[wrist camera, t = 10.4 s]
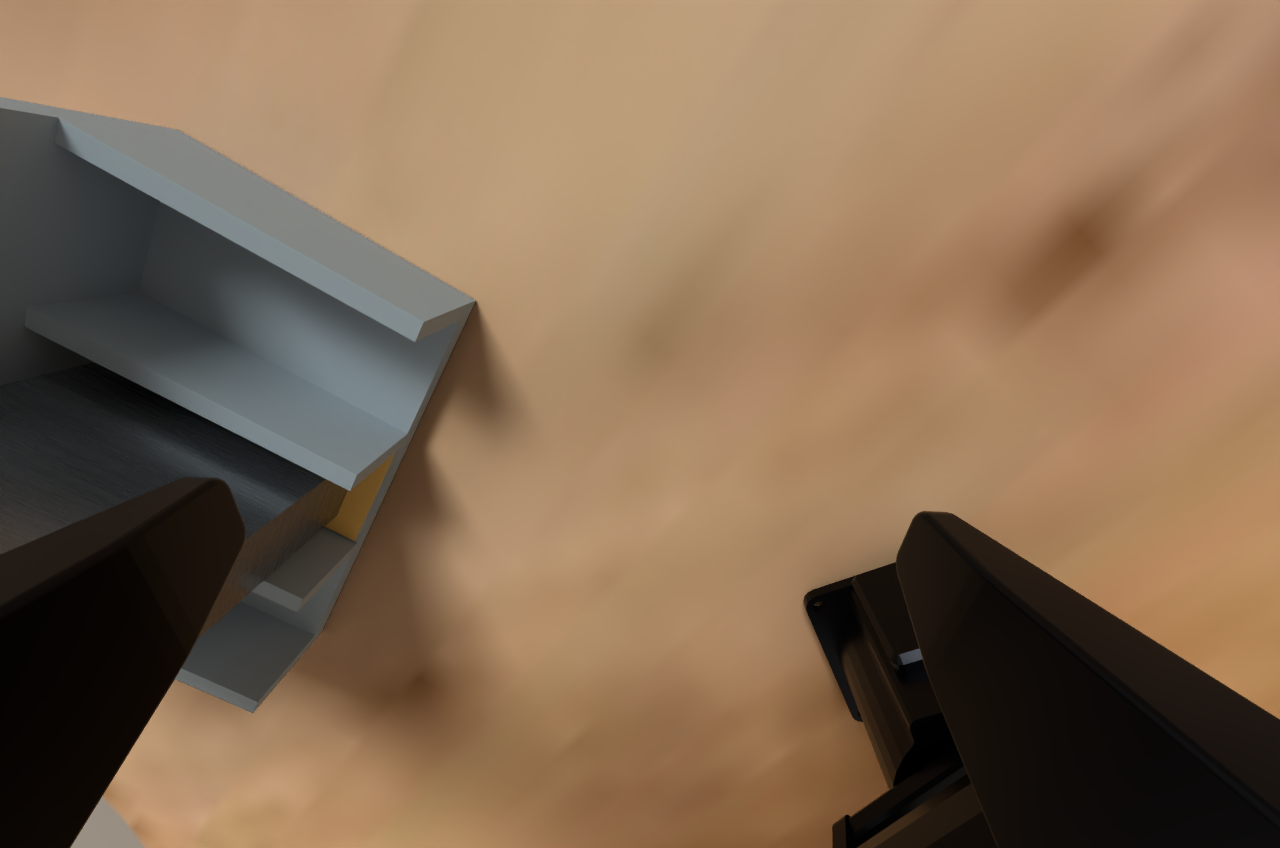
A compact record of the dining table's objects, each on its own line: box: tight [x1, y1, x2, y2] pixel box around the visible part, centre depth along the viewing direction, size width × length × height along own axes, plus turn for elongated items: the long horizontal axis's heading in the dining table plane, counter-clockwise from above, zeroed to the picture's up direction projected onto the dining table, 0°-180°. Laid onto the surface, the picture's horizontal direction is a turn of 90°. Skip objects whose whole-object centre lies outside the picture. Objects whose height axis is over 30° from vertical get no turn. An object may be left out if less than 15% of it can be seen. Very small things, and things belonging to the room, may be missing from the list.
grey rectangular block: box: [0, 362, 348, 638], centre depth 13 cm, size 7×3×12 cm, turn 60°
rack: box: [0, 97, 476, 713], centre depth 14 cm, size 10×16×12 cm, turn 150°
